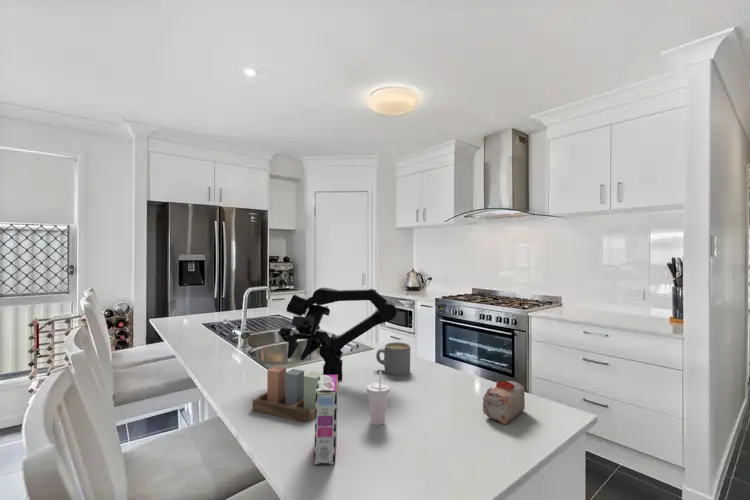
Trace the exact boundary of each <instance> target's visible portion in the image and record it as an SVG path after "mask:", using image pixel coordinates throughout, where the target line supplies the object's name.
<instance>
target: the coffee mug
mask: <svg viewBox="0 0 750 500" xmlns="http://www.w3.org/2000/svg"><path fill="white" fill-rule="evenodd" d="M382 353H383V359H381V354H382ZM375 358H376V360H377V362H378V363H379V364H381V365H383V367H384V373H386V374H387V375H391V376H399V377H400V376H407V375H408V374H410V373H411V345H410V344H408V343H405V342H396V341H395V342H394V341H393V342H388V343H385V344H384V348H382V347H381V348H379V349H378V350H377V351H376V356H375Z"/></svg>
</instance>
